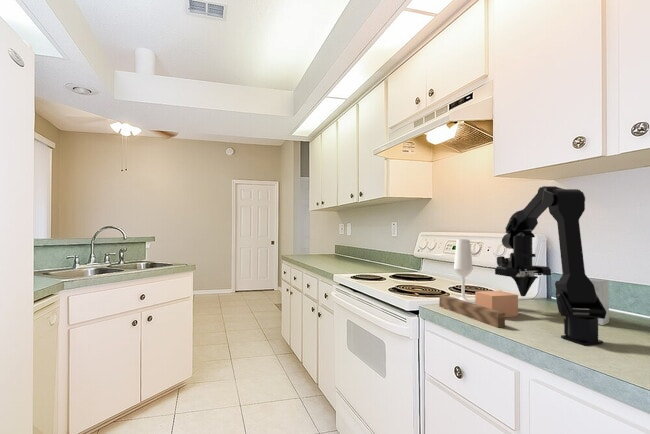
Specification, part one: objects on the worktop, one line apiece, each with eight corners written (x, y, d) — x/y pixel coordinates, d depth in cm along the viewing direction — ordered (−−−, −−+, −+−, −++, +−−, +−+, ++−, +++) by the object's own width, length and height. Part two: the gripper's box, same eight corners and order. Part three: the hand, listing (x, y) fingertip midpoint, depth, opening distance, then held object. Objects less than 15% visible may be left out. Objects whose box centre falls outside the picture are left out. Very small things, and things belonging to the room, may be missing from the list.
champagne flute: (474, 304, 132) (474, 240, 133) (454, 303, 134) (455, 239, 134) (470, 301, 139) (471, 239, 139) (452, 300, 140) (452, 239, 141)
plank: (504, 327, 102) (504, 313, 103) (498, 327, 102) (498, 313, 102) (445, 306, 129) (445, 295, 129) (439, 306, 129) (439, 295, 129)
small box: (609, 322, 110) (609, 279, 110) (603, 325, 106) (603, 281, 106) (578, 317, 116) (578, 276, 116) (571, 320, 112) (571, 278, 112)
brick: (518, 316, 116) (518, 294, 116) (492, 318, 114) (492, 296, 114) (500, 310, 124) (500, 290, 124) (475, 312, 121) (475, 291, 121)
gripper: (525, 248, 133) (525, 291, 132) (483, 249, 127) (483, 293, 127) (551, 250, 122) (552, 296, 122) (507, 251, 117) (507, 299, 116)
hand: (522, 296), depth 122 cm, fingers closed
